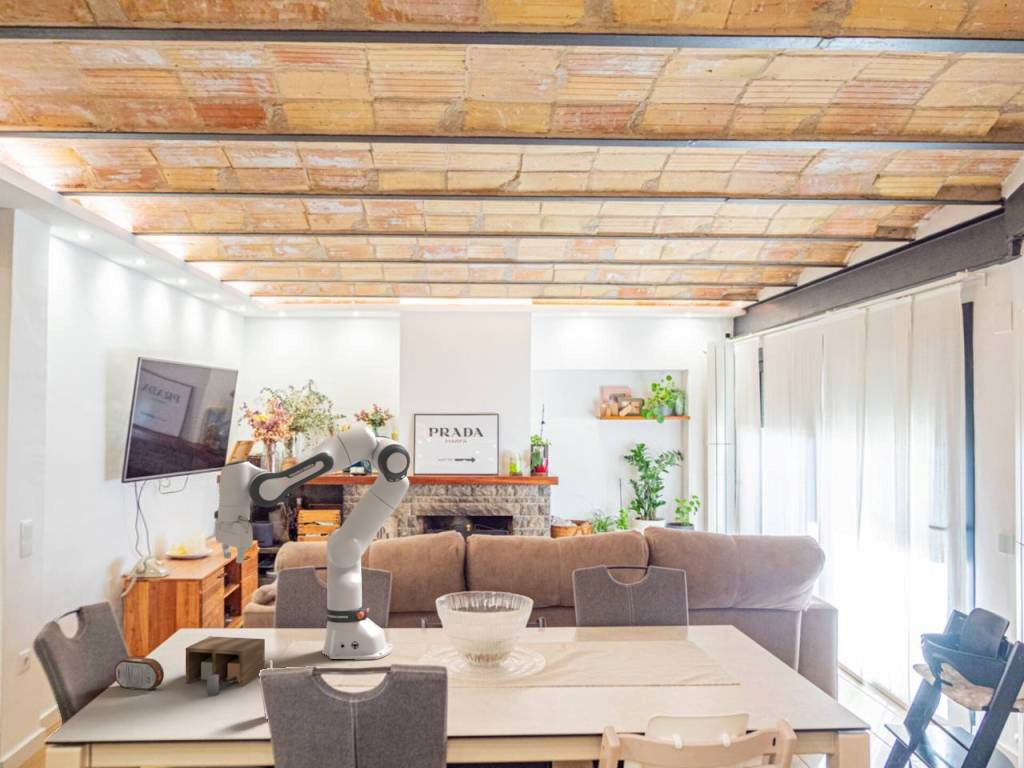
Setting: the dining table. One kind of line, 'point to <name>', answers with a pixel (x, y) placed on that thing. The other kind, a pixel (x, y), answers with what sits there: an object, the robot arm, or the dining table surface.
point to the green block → (206, 668)
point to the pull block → (232, 676)
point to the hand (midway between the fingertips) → (233, 560)
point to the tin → (139, 673)
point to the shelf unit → (226, 657)
